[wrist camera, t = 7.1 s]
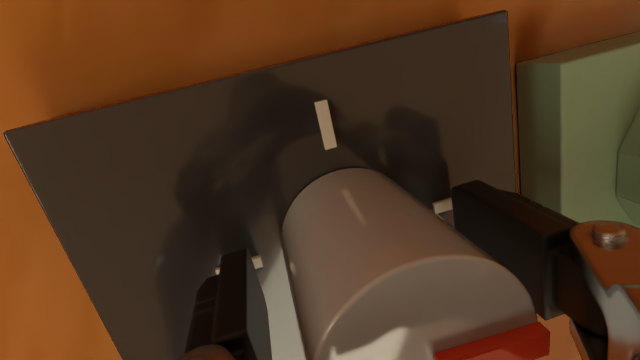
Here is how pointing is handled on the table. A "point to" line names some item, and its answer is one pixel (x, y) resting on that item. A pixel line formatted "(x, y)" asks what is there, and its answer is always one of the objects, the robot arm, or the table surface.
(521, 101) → the block
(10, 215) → the table surface
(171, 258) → the hob panel
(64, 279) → the table surface
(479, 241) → the robot arm
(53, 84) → the table surface
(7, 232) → the table surface
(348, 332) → the stove knob
